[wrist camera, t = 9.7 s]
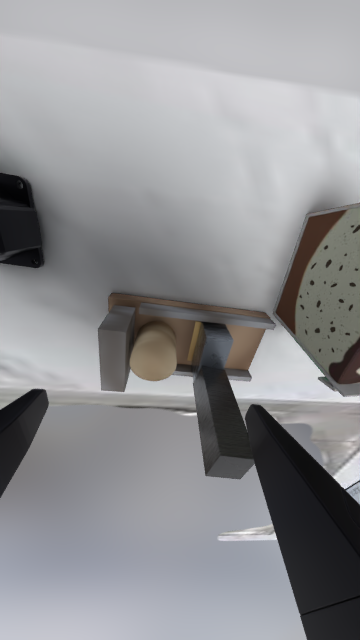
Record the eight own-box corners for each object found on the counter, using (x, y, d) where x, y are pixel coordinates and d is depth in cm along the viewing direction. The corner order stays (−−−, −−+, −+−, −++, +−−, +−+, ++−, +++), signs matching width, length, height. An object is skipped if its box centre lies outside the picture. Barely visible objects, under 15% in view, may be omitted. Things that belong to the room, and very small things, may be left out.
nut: (136, 351, 20) (128, 379, 17) (138, 319, 18) (130, 342, 15) (172, 354, 21) (173, 382, 17) (178, 323, 19) (180, 347, 15)
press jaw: (189, 365, 21) (204, 478, 12) (199, 320, 18) (229, 421, 9) (212, 367, 21) (244, 479, 12) (226, 323, 19) (280, 424, 10)
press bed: (112, 355, 22) (96, 395, 17) (111, 292, 18) (90, 320, 13) (242, 367, 24) (261, 406, 19) (265, 312, 20) (296, 343, 15)
